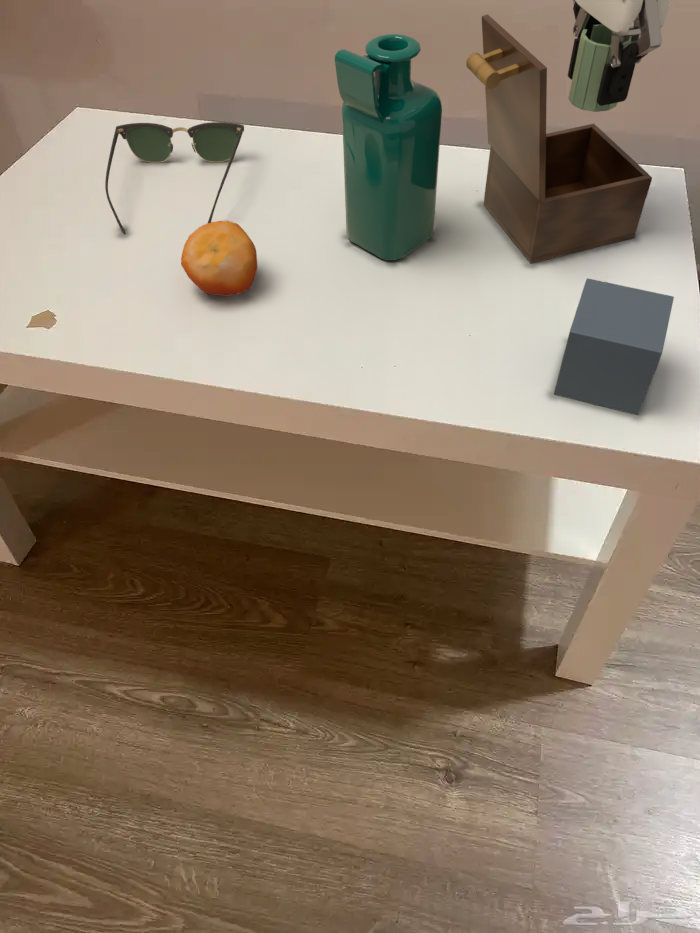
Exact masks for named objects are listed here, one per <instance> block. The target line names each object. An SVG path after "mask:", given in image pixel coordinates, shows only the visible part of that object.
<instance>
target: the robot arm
mask: <svg viewBox="0 0 700 933" xmlns="http://www.w3.org/2000/svg"><path fill="white" fill-rule="evenodd" d="M671 2H672V0H572V3H573V7H572V10H573V15H574V20H575V22H574V24H573V27H572V34H573V36H574V37H575V38H574V40H573V45H572V50H571V55H570V61H569V66H568V72H567V77H568V78H569V80H571V81H572V78H573V73H574V68H575V63H576V58H577V53H578V48H579V43H580V37H581V34H582V31H583V29H587V34H586V36H587V38H588V39H589V40H590V38H591V33H592V28H593V25H597V24H603V25H605V26H606V27H607V28H608V29H610V30H611V31H612V37H611V52H610V63H608V64H605V66H604V70H603V74H602V78H601V83H600V87H599V92H598V96H597V103H598V104H599V105H600V106H603V105H608V104H613V103H617V102H618V103H621V102H624V101H626V100H627V98H628V95H629V92H630V87H631V83H632V81H633V80H632V79H633V75H634V70H635V68H636V64H639V63H641V61H642V59H643V58H645V56H647V55H648V54H649V53H651V52H653V51H655V50H657V49H658V48H660V47H661V45H662V42H663V39H662V30H661V29H662V28H663V27H664V25H665V24H666V20H667V17H668V14H669V11H670V6H671ZM632 23H633V25H632V26H631V24H632ZM628 36H631V44H629V45H628V46H627V47H625V48H624V49H623V37H628ZM618 103H617V104H618Z"/></svg>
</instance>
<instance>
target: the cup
mask: <svg viewBox="0 0 700 933" xmlns="http://www.w3.org/2000/svg"><path fill="white" fill-rule="evenodd" d="M586 34H587V29H583V31H582V34H581V37H580V43H579V48H578V53H577V58H576V63H575V68H574V73H573V78H572V80H571V83H570V89H569V94H568V101H569V103H570V104H571V105H572V106H573V107H575V108H578V109H580V110H583V111H587V112H592V113H593V112H594V113H599V112H607V111H610V110H612V109H614V108H616V107H617V106H618V103H619V102H617V103H613V104H608V105H603V106H600V105H599V104H598V103H597V96H598V92H599V87H600V83H601V78H602V74H603V70H604V66H605V64H608V63H610V52H611V37H612V31H611V30H610V29H608V28H607V27H606V26H605V25H603V24H597V25H593V28H592V33H591V38H590V40H589V39H588V38H587V36H586ZM629 44H631V36H628V37H623V49H624V48H625V47H627V46H628V45H629Z"/></svg>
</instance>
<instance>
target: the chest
mask: <svg viewBox="0 0 700 933" xmlns="http://www.w3.org/2000/svg"><path fill="white" fill-rule="evenodd" d="M489 146H490V145H489ZM652 180H653V177H652V176H651V175H650V174H649V172H647V171H646V170H645V169H644V168H643V167H642V166H641V165H640V164H639V163H638V162H636V161H635V160H634V159H633V158H632V157H631V156H630V155H629V154H628V153H627V152H626V151H624V149H622V148H621V147H620V146H619V145H618V144H617V143H616V142H615V141H614V140H613V139H612V138H610V136H608V135H607V134H606V133H605V132H604V131H603V130H602V129H601V128H600V127H599V126H598V125H596V124H595V123H590V124H584V125H580V126H576V127H572V128H566V129H562V130H557V131H552V132H546V173H545V199H543V200H540V201H539V200H538V199H537V198H536V197H535V196H534V194H533V193H532V192H531V191H530V190H529V189H528V188H527V186H526V185H525V184H524V183H523V182H522V181H521V180H520V179H519V177H518V176H517V175H516V174H515V173H514V172H513V171H512V170H511V168H510V167H509V166H508V165H507V164H506V163H505V162H504V161H503V159H502V158H501V157H500V156H499V155H498V154H497V153H496V151H495V150H494V149H493V148H492V147H491V146H490V148H489V155H488V163H487V172H486V179H485V187H484V196H483V206H484V208H485V209H486V210H487V211H488V213H489V214H490V215H491V216H492V217H493V219H494V220H495V221H496V222H497V224H498V225H499V226H500V228H501V229H502V230H503V231H504V232H505V234H506V235H507V236H508V238H509V239H510V240H511V241H512V242H513V244H514V245H515V246H516V248H517V249H518V250H519V251H520V253H521V254H522V255H523V256H524V258H525V259H526V260H527V262H529V264H534V263H538V262H541V261H546V260H549V259H553V258H554V259H555V258H557V257H562V256H565V255H570V254H573V253H578V252H582V251H586V250H590V249H595V248H599V247H603V246H607V245H610V244H614V243H618V242H623V241H626V240H630V239H634V238H635V237H636V233H637V230H638V227H639V223H640V220H641V217H642V213H643V210H644V207H645V203H646V200H647V198H648V194H649V190H650V187H651V184H652Z"/></svg>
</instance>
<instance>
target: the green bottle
mask: <svg viewBox="0 0 700 933" xmlns="http://www.w3.org/2000/svg"><path fill="white" fill-rule="evenodd" d="M364 47H365V53H366V54H367V55H361V54H358V53H356V52H353V51H351V50H349V49H346V48H342V49H339V50H338V51H337V52H336V53H335V55H334V66H335V73H336V80H337V81H336V82H337V88H338V92H339V95H340V98H341V100H342V101H343V102H342V105H341V109H342V110H341V118H342V119H341V120H342V145H343V146H342V147H343V149H342V150H343V170H344V171H343V173H344V174H343V175H344V203H345V204H344V205H345V231H346V232H345V233H346V234H345V235H346V238H347V239H348V241H349V242H351V243H353V244H355V245H357V246H358V247H360V248H362V249H363V250H365V251H367V252H369V253H371V254H372V255H374V256H376V257H378V258H380V260H381V259H382V260H384V261H385V260H386V261H399V260H401V259H402V258H404V257H406V256H407V255H409V254H410V253H411V252H413V251H414V250H416V249H418V248H419V247H420V246H422V245H423V244H425V243H426V242H428V241H429V240H431V238H432V236H433V235H434V233H435V220H436V219H435V218H436V204H437V203H436V202H437V189H438V175H439V174H438V173H439V162H440V161H439V160H440V159H439V158H440V145H441V131H442V114H443V106H442V105H443V104H442V100H441V97H440V95H439V93H438V92H437V91H436V90H435V89H433V88H432V87H429V86H426V85H424V84H422V83H419V82H417V81H415V80H412V78H411V74H412V59H414V58H416V57H417V56H418V55H419V53H420V52H421V51H422V49H421V43H420V42H419V41H418V40H417V39H415V38H414V37H412V36H410V35H407V34H401V33H385V34H381V35H377V36H375V37H373V38H371V39H370V40H369V41H367V43H366V44H365V46H364Z"/></svg>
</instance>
